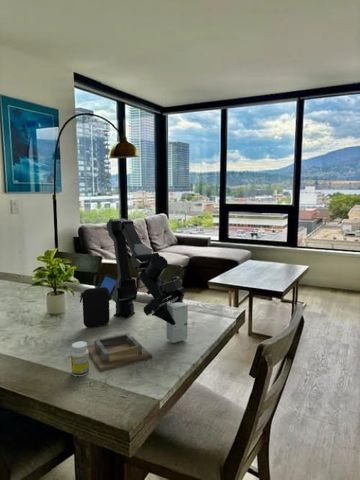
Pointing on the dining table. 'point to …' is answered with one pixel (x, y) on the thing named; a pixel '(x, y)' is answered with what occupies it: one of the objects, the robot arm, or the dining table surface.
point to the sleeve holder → (117, 351)
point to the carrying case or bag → (95, 307)
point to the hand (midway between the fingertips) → (180, 321)
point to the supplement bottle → (80, 359)
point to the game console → (108, 284)
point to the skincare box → (177, 322)
